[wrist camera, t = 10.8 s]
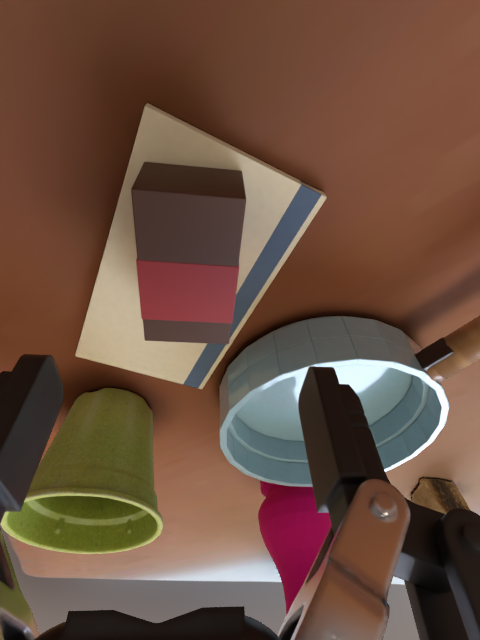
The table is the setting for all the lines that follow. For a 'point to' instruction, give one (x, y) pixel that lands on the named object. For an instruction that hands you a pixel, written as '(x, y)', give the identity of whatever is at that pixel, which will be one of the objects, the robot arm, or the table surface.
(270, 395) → the pan
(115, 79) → the table surface
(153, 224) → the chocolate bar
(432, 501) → the rock
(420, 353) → the pan handle
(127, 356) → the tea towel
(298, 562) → the pepper mill
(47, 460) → the plant pot
